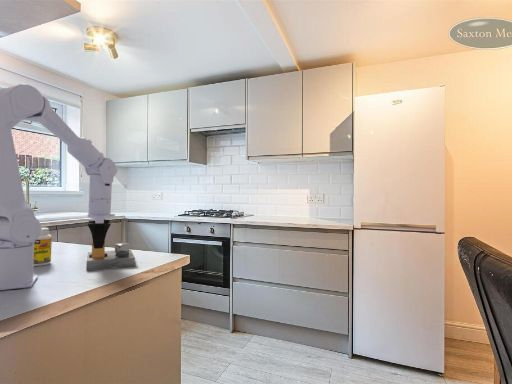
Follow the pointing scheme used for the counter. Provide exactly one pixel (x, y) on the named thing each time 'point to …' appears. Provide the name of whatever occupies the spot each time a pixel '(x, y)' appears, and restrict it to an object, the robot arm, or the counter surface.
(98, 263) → the gray tray with knob
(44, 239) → the supplement bottle
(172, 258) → the counter surface
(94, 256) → the orange rectangular box
